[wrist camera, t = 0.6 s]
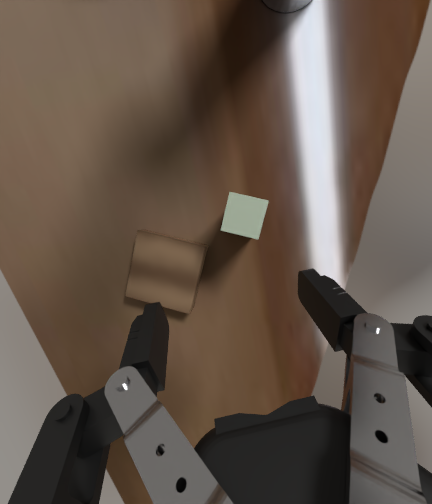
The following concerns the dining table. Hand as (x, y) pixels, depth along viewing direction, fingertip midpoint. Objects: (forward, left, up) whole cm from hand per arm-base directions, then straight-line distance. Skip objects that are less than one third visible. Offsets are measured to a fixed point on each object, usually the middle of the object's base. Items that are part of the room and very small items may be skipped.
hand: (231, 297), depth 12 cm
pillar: (-5, 0, -23) cm, 24 cm away
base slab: (+6, -10, -23) cm, 26 cm away
